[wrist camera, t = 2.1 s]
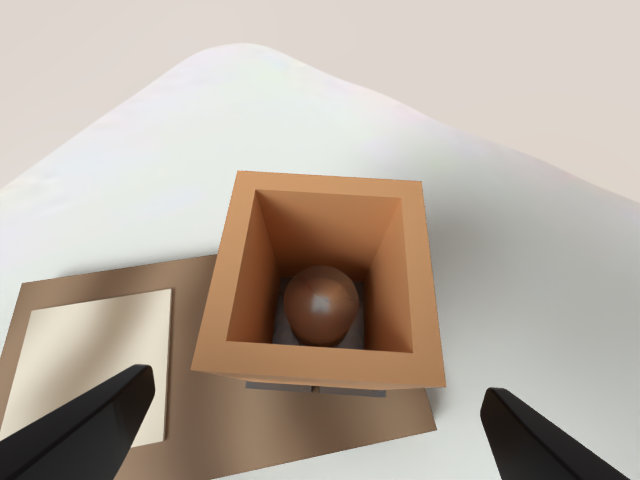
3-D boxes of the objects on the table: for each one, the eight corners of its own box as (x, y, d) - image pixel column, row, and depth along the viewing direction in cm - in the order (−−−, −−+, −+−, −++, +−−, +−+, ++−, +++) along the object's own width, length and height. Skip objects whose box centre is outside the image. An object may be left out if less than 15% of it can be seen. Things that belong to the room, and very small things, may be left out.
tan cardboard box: (379, 390, 14) (446, 386, 7) (252, 381, 14) (190, 370, 7) (375, 271, 17) (421, 181, 10) (269, 264, 17) (237, 170, 10)
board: (373, 240, 22) (377, 229, 21) (427, 427, 17) (438, 430, 15) (41, 290, 20) (19, 282, 18) (-18, 523, 15) (-57, 538, 13)
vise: (375, 396, 16) (410, 399, 10) (199, 385, 16) (136, 381, 10) (373, 280, 19) (399, 232, 13) (224, 271, 19) (186, 219, 13)
